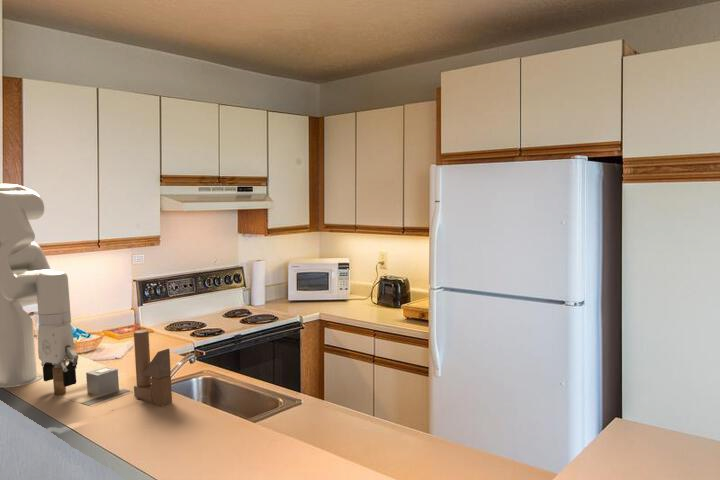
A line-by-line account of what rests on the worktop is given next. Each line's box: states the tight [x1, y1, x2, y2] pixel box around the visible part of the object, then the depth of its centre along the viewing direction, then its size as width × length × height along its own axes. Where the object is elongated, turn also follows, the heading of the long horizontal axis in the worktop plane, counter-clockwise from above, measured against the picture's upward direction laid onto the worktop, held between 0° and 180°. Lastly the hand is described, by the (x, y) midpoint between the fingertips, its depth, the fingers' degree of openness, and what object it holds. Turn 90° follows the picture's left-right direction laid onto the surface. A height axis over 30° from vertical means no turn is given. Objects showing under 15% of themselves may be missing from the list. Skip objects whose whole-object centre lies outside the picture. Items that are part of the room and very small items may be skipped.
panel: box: [52, 383, 134, 408], centre depth 154 cm, size 18×12×1 cm, turn 57°
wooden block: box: [133, 329, 173, 407], centre depth 149 cm, size 4×11×18 cm, turn 58°
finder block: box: [85, 366, 120, 396], centre depth 155 cm, size 5×6×6 cm
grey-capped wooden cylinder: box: [52, 363, 67, 396], centre depth 154 cm, size 3×3×9 cm
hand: (59, 382), depth 154 cm, fingers open, 9 cm apart
